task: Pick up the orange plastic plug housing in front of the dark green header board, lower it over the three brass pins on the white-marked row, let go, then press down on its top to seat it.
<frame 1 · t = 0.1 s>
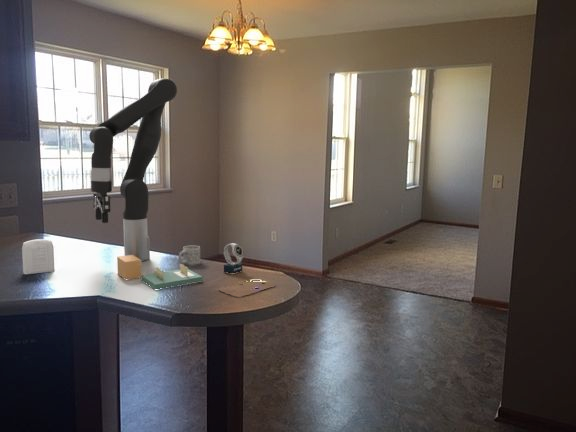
hand: (101, 221, 186), 17 cm above the table, tool pointing down, fingers open, 8 cm apart
header board: (172, 281, 167), on the table
housing: (129, 275, 173), on the table
game console: (247, 290, 161), on the table
mug: (188, 264, 191), on the table
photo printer: (39, 272, 176), on the table
watch: (233, 272, 181), on the table
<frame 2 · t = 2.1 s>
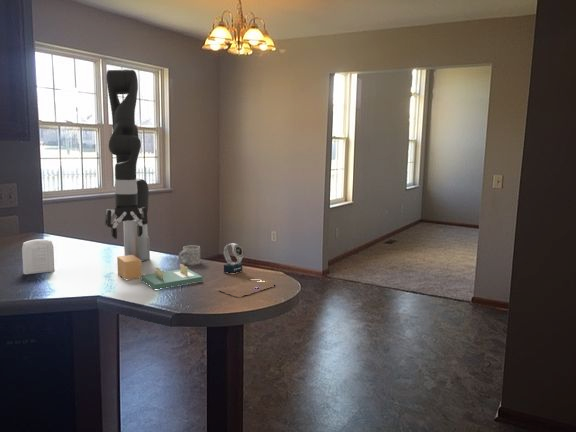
hand: (127, 237, 171), 14 cm above the table, tool pointing down, fingers open, 8 cm apart
nothing on the table moved.
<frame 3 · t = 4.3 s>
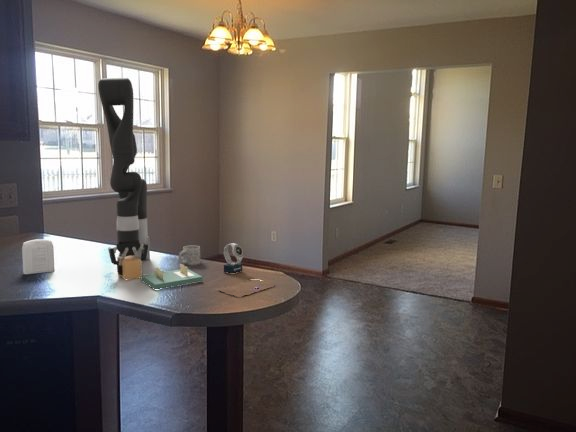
hand: (129, 273, 173), 1 cm above the table, tool pointing down, fingers closed on housing, 5 cm apart
housing: (129, 275, 173), on the table, touching gripper
everything else where it was.
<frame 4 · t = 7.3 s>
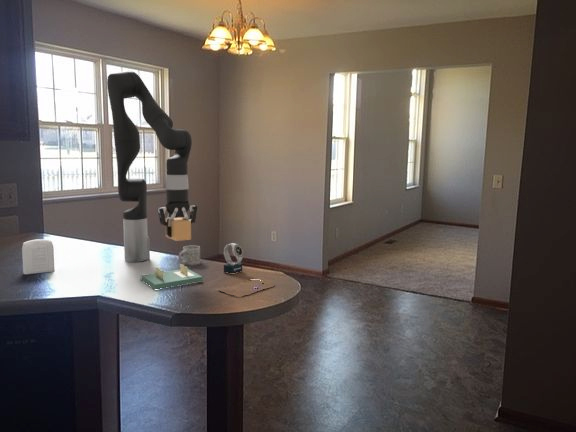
hand: (178, 235, 167), 16 cm above the table, tool pointing down, fingers closed on housing, 5 cm apart
housing: (178, 238, 167), point 15 cm above the table, touching gripper
everything else where it was.
when the fingers open (3 cm above the table, at t = 10.3 s): housing stays where it is, resting on header board.
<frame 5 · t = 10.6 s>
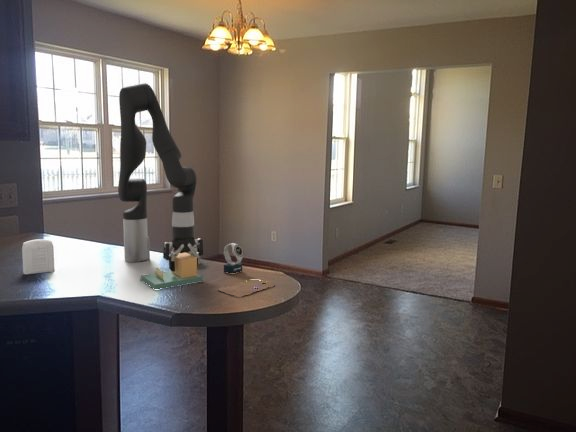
hand: (183, 269, 169), 4 cm above the table, tool pointing down, fingers open, 8 cm apart
housing: (184, 273, 170), point 2 cm above the table, touching header board
everything else where it was.
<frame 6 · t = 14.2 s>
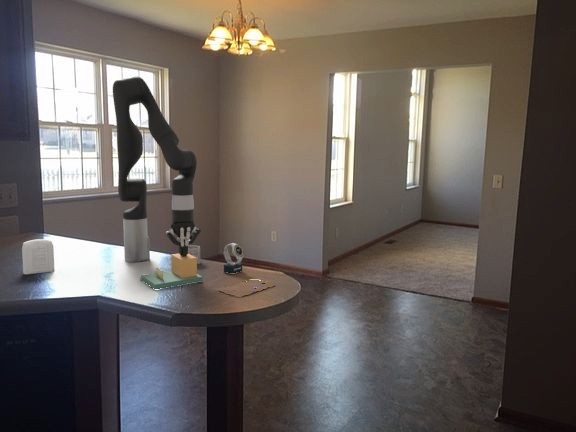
hand: (183, 256, 169), 9 cm above the table, tool pointing down, fingers closed
housing: (184, 273, 170), point 2 cm above the table, touching gripper, header board
everything else where it was.
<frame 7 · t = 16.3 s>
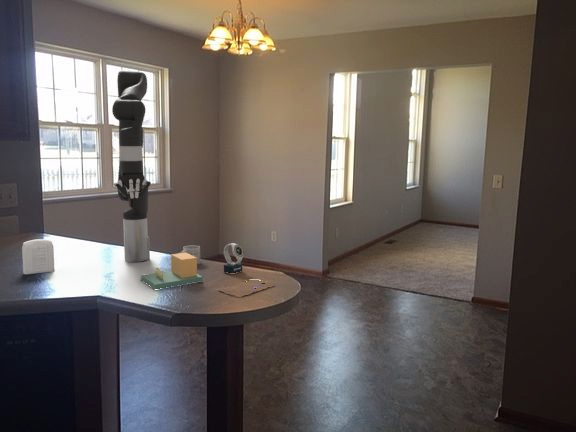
hand: (133, 208, 168), 25 cm above the table, tool pointing down, fingers closed
housing: (184, 273, 170), point 2 cm above the table, touching header board
everything else where it was.
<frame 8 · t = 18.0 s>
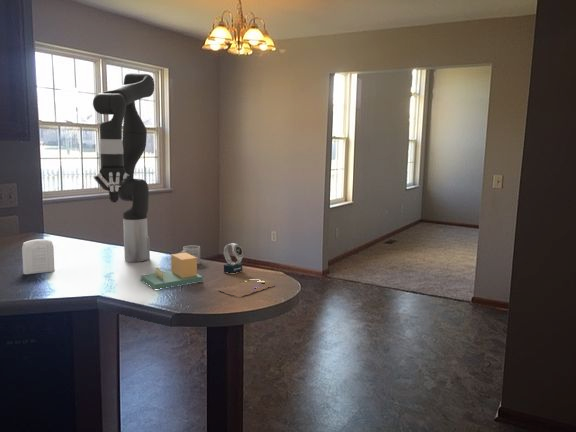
hand: (113, 202, 169), 27 cm above the table, tool pointing down, fingers closed
nothing on the table moved.
at the end: housing 0.0 cm from the target spot on the header board, point 2.1 cm above the header board's base; housing tilted 0°; the gripper is holding nothing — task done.
